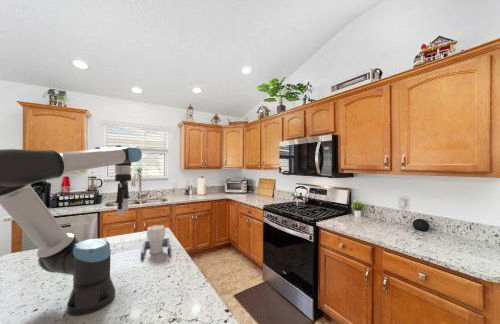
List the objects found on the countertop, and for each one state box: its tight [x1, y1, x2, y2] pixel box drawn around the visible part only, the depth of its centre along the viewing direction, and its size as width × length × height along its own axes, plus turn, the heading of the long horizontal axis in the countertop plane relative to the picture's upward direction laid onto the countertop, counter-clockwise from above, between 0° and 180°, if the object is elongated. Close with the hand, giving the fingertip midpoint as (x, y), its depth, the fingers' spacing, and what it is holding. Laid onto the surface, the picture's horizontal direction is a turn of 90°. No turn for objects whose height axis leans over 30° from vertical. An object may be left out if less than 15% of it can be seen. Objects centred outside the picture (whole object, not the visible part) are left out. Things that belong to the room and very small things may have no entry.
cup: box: [146, 224, 166, 255], centre depth 128 cm, size 11×11×15 cm
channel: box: [140, 237, 171, 261], centre depth 129 cm, size 19×15×4 cm
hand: (122, 212), depth 112 cm, fingers open, 13 cm apart
